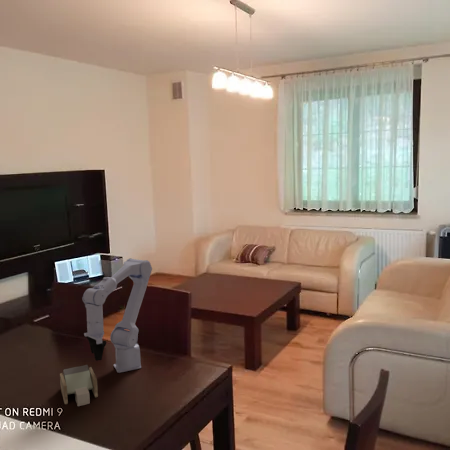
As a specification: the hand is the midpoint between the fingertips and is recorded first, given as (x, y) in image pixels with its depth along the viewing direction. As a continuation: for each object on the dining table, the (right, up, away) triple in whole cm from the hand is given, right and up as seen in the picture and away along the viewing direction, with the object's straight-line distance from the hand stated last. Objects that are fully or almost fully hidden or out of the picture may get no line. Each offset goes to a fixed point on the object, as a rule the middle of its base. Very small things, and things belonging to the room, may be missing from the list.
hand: (96, 356), depth 171 cm
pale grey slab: (-5, -8, -5) cm, 11 cm away
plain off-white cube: (-3, -10, -10) cm, 15 cm away
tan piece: (-4, -11, -7) cm, 14 cm away
